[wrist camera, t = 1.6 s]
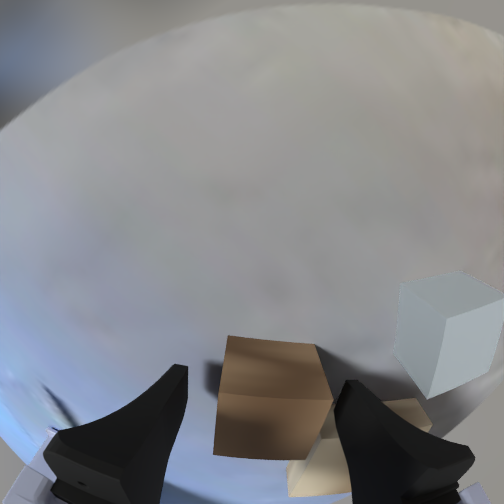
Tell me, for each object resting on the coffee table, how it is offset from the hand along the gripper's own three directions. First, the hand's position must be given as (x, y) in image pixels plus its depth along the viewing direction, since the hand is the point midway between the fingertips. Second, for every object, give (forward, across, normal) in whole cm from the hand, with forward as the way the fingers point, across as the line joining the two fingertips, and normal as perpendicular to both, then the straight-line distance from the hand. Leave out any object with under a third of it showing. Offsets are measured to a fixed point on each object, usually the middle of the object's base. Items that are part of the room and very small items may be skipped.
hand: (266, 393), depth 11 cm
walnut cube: (+2, 0, 0) cm, 2 cm away
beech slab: (+2, -6, +5) cm, 9 cm away
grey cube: (+2, -8, -4) cm, 9 cm away
